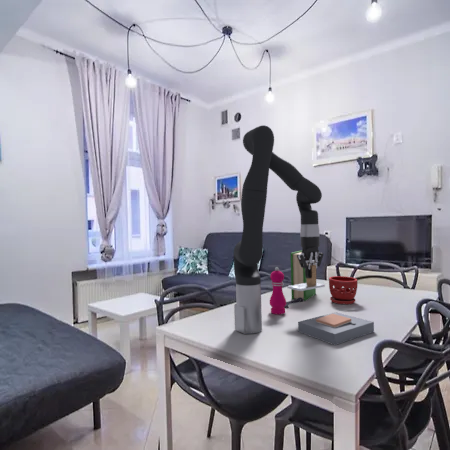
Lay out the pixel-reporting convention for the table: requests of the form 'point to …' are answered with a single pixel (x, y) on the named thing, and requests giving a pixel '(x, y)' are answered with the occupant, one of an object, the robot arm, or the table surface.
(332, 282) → the plant pot
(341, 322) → the tile
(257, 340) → the table surface
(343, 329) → the tile stand
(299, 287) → the trowel
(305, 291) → the hardback book
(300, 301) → the bracket
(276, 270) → the pepper mill
